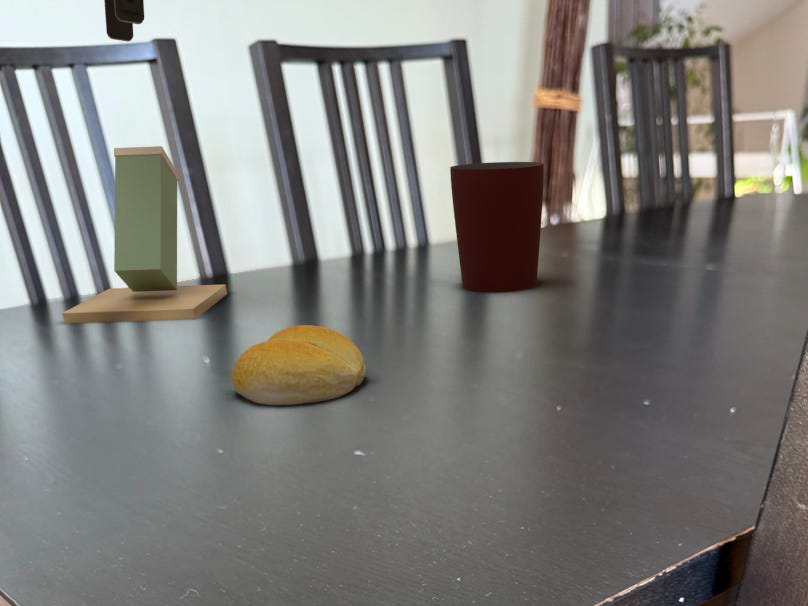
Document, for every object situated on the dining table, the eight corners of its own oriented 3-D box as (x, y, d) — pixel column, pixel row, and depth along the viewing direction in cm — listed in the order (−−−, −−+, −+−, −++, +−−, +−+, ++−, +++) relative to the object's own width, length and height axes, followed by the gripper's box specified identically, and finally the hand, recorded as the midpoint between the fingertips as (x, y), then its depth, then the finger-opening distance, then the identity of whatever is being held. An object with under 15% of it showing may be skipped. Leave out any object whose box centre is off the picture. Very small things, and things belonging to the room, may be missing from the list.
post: (112, 270, 87) (113, 147, 88) (132, 292, 92) (133, 175, 93) (161, 268, 87) (161, 145, 88) (178, 291, 92) (178, 173, 93)
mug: (469, 275, 102) (465, 160, 96) (551, 274, 100) (551, 158, 94) (447, 296, 91) (441, 170, 86) (538, 296, 90) (538, 167, 84)
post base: (65, 326, 86) (61, 312, 85) (111, 300, 96) (108, 288, 95) (195, 322, 85) (193, 308, 85) (227, 296, 96) (225, 284, 95)
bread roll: (214, 407, 62) (203, 344, 60) (282, 371, 69) (274, 315, 67) (327, 414, 59) (319, 350, 57) (385, 377, 66) (380, 318, 64)
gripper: (55, -186, 79) (73, 38, 85) (62, -260, 67) (82, 6, 73) (149, -163, 82) (160, 51, 88) (171, -231, 70) (182, 23, 76)
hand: (125, 31), depth 80 cm, fingers open, 8 cm apart
